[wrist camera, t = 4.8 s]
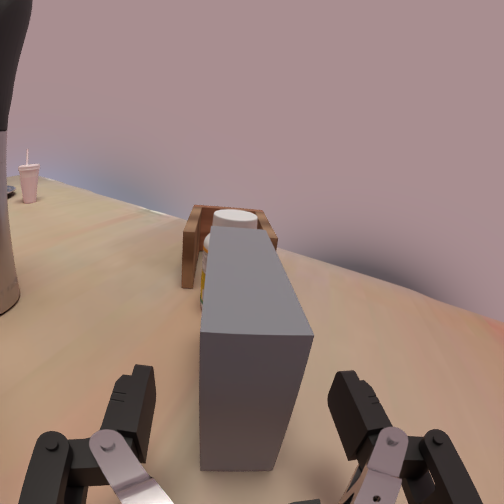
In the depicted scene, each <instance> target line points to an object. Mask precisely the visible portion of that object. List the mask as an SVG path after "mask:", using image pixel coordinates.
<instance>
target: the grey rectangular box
mask: <svg viewBox="0 0 504 504" xmlns="http://www.w3.org/2000/svg"><path fill="white" fill-rule="evenodd" d="M313 338H314V334H313V331H312V329H311V327H310V325H309V323H308V320H307V318H306V316H305V314H304V312H303V309H302V307H301V305H300V303H299V301H298V298H297V296H296V294H295V292H294V290H293V287H292V285H291V283H290V281H289V279H288V277H287V274H286V272H285V270H284V268H283V266H282V264H281V261H280V259H279V257H278V255H277V253H276V251H275V248H274V246H273V244H272V242H271V240H270V238H269V236H268V234H267V231H266V230H261V229H248V228H235V227H222V226H211V230H210V239H209V248H208V257H207V266H206V276H205V285H204V296H203V306H202V318H201V329H200V372H199V426H200V471H270V470H273V467H274V464H275V462H276V459H277V456H278V453H279V450H280V447H281V444H282V442H283V439H284V436H285V433H286V430H287V427H288V424H289V420H290V417H291V414H292V411H293V408H294V405H295V401H296V398H297V395H298V392H299V388H300V385H301V381H302V378H303V374H304V371H305V367H306V364H307V360H308V357H309V353H310V349H311V346H312V342H313Z"/></svg>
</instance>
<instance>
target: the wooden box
mask: <svg viewBox="0 0 504 504" xmlns="http://www.w3.org/2000/svg"><path fill="white" fill-rule="evenodd" d="M224 209H235V210H242V211H247V212H251V213H253V214H255V215H256V216H257V217H258V220H257V229H261V230H266V231H267V234H268V236H269V238H270V240H271V242H272V244H273V246H274V248H275V251H276V249H277V242H278V238H277V236H276V234H275V232H274V230H273V229H272V227H271V225H270V223H269V222H268V220H267V218H266V216H265V214H264V212H263V211H262V210H254V209H242V208H231V207H218V206H204V205H194V207H193V209H192V211H191V214H190V216H189V219H188V221H187V224H186V226H185V228H184V231H183V253H182V288H193V282H194V276H195V271H196V265H197V260H198V254H199V251H203V245H204V240H205V238H206V236H207V235H208V234H209V233H210V230H211V226H213V225H212V223H213V215H214V212H215V211H218V210H224Z"/></svg>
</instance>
